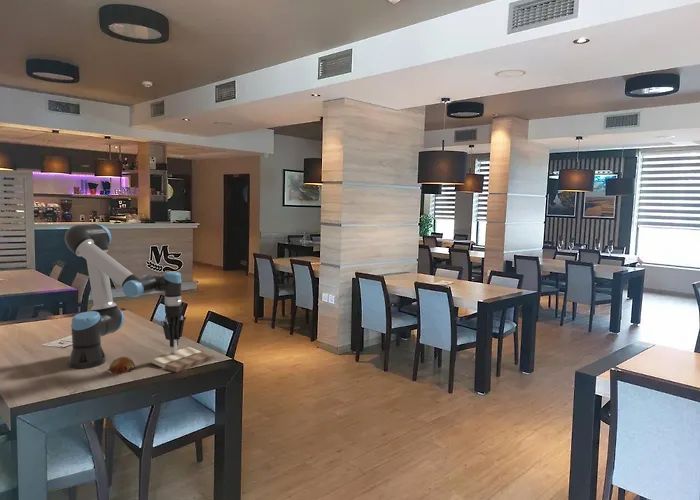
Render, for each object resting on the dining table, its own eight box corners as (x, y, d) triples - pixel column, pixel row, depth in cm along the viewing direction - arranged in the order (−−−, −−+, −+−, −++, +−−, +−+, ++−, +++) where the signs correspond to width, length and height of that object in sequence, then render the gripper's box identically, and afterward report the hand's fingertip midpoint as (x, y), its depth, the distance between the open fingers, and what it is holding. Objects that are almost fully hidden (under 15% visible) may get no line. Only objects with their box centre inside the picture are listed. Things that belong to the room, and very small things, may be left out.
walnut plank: (176, 372, 215) (176, 367, 215) (165, 368, 219) (165, 364, 219) (214, 359, 234) (214, 354, 234) (203, 356, 238) (203, 352, 238)
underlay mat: (176, 374, 214) (176, 373, 214) (144, 365, 225) (144, 364, 225) (217, 359, 234) (217, 358, 234) (186, 352, 246) (186, 351, 246)
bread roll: (130, 374, 224) (126, 357, 225) (140, 369, 217) (136, 352, 219) (108, 379, 216) (104, 362, 217) (118, 375, 210) (113, 357, 211)
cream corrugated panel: (163, 367, 220) (163, 363, 219) (150, 362, 224) (150, 358, 224) (201, 355, 239) (201, 351, 238) (188, 350, 243) (188, 346, 243)
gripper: (167, 307, 222) (167, 357, 225) (189, 303, 234) (190, 350, 236) (156, 305, 226) (157, 355, 229) (179, 301, 237) (179, 348, 240)
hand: (174, 352), depth 232 cm, fingers closed
